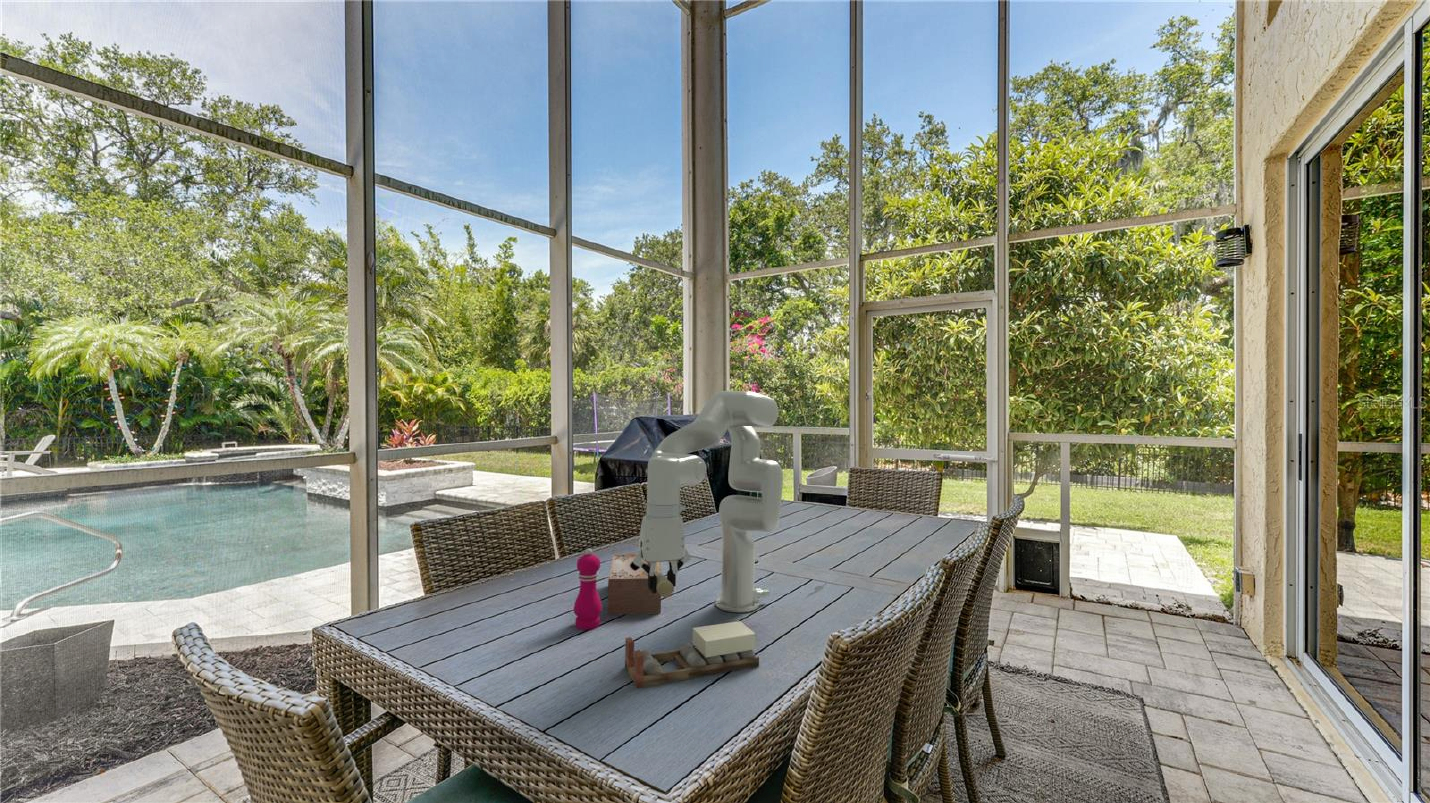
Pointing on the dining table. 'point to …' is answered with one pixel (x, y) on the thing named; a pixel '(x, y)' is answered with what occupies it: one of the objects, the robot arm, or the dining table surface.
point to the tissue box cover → (630, 587)
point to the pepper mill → (588, 592)
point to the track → (681, 664)
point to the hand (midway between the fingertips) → (661, 589)
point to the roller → (663, 585)
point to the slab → (723, 639)
